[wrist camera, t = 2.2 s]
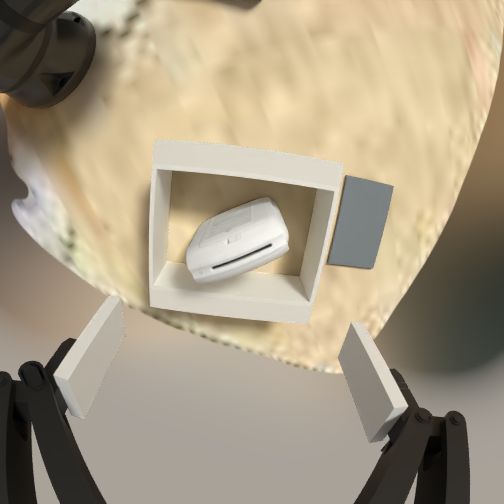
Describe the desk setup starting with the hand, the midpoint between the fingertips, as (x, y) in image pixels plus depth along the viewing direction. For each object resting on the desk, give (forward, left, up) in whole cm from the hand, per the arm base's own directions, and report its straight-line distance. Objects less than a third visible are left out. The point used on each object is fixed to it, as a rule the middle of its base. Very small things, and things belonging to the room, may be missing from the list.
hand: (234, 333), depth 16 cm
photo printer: (0, 0, -23) cm, 23 cm away
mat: (+16, +2, -22) cm, 28 cm away
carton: (0, 0, -22) cm, 23 cm away
